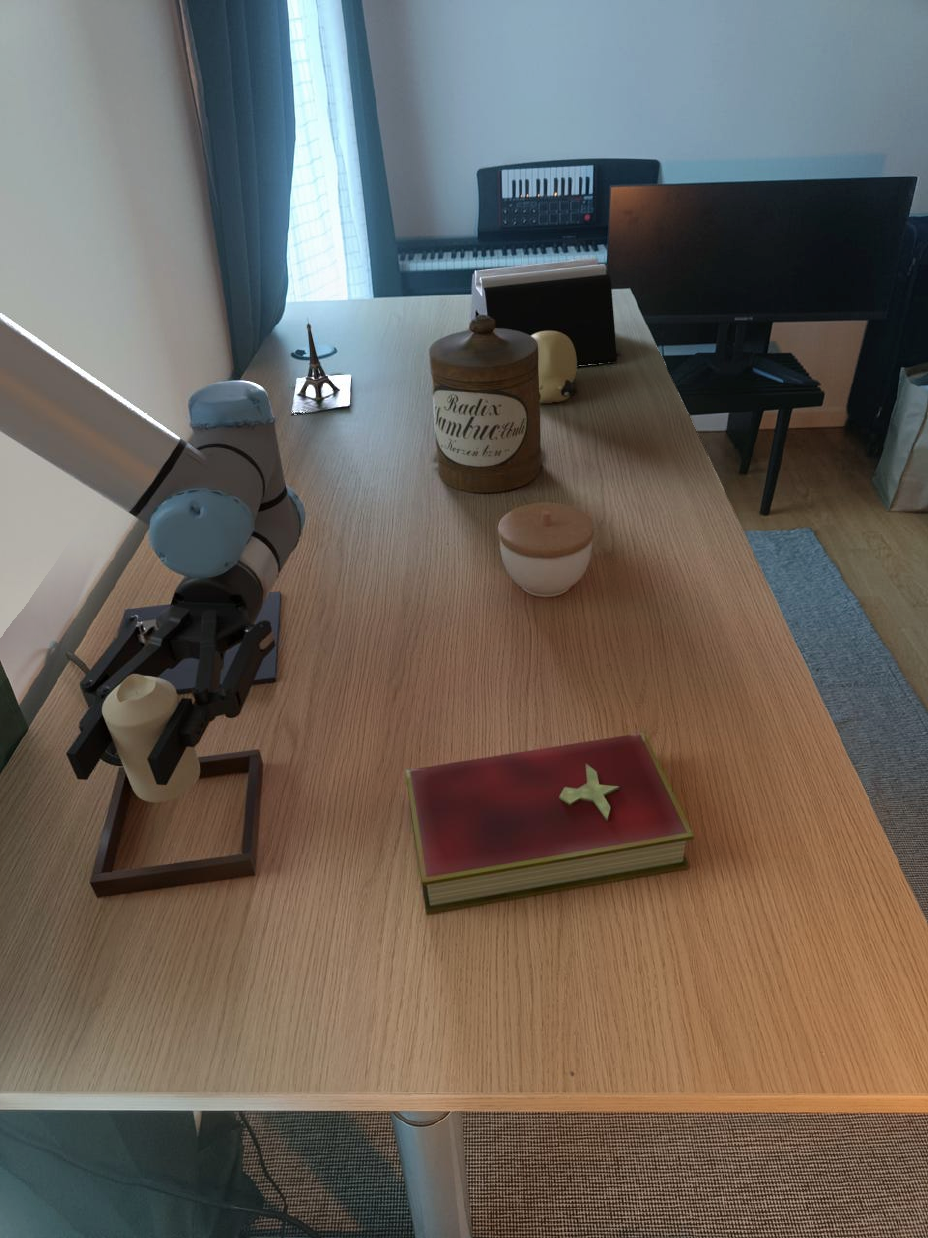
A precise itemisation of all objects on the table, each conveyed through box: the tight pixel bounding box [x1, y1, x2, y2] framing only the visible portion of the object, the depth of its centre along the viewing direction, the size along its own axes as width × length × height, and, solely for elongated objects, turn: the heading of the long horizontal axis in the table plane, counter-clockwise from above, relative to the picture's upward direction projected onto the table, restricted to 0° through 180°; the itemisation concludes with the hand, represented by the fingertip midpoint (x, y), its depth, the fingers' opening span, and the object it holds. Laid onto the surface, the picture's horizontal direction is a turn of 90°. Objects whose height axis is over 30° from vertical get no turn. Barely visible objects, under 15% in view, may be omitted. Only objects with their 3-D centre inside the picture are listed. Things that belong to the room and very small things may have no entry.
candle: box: [102, 674, 200, 803], centre depth 69 cm, size 6×6×10 cm
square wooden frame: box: [89, 748, 264, 899], centre depth 75 cm, size 13×13×2 cm
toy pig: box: [531, 331, 578, 404], centre depth 144 cm, size 10×12×11 cm
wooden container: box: [428, 315, 542, 494], centre depth 119 cm, size 15×15×22 cm
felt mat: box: [116, 590, 282, 695], centre depth 96 cm, size 18×16×1 cm
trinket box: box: [497, 501, 595, 598], centre depth 99 cm, size 11×11×9 cm
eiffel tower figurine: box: [291, 317, 352, 414], centre depth 148 cm, size 15×10×13 cm
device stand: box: [470, 257, 618, 366], centre depth 159 cm, size 22×22×15 cm
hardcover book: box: [404, 732, 695, 915], centre depth 71 cm, size 12×21×4 cm, turn 99°
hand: (116, 769), depth 64 cm, fingers closed on candle, 5 cm apart
